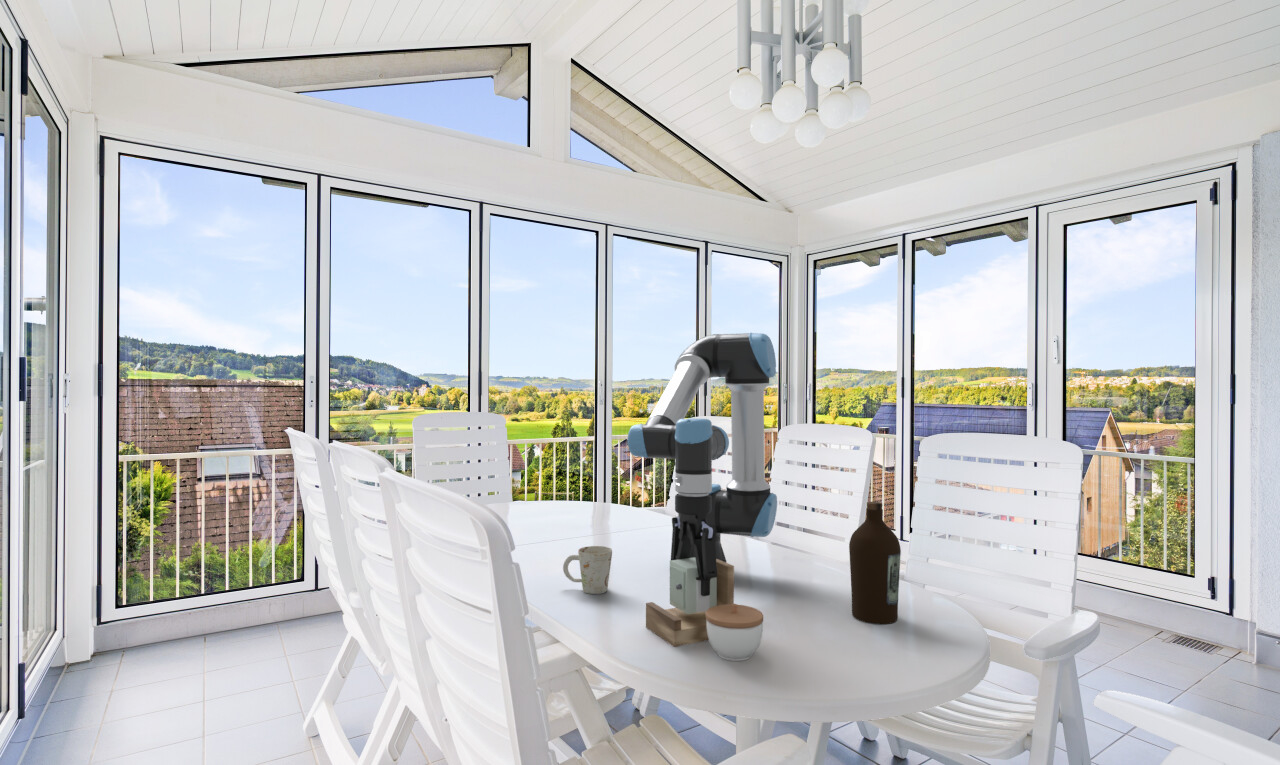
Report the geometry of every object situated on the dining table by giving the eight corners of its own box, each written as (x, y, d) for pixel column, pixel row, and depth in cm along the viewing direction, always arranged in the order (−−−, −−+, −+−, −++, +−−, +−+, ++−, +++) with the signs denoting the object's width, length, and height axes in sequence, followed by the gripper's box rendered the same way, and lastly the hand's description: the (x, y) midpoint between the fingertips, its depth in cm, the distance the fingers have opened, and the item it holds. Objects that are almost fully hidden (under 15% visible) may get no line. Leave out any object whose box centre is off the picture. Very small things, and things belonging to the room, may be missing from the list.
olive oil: (842, 619, 145) (842, 503, 145) (857, 606, 153) (857, 497, 154) (893, 629, 139) (893, 508, 139) (906, 615, 147) (906, 502, 148)
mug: (607, 596, 160) (607, 554, 160) (557, 593, 162) (557, 552, 162) (615, 586, 168) (615, 546, 168) (567, 583, 170) (567, 544, 170)
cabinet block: (698, 599, 142) (698, 557, 142) (716, 609, 136) (716, 564, 136) (664, 604, 138) (664, 561, 138) (681, 614, 132) (681, 569, 132)
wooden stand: (702, 617, 145) (702, 552, 146) (733, 635, 135) (733, 565, 135) (645, 627, 139) (646, 559, 139) (674, 646, 128) (674, 573, 129)
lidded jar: (700, 644, 130) (701, 596, 130) (755, 643, 131) (755, 595, 131) (711, 667, 119) (711, 614, 119) (770, 665, 120) (770, 613, 120)
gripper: (654, 488, 145) (653, 594, 145) (703, 501, 127) (702, 623, 127) (684, 486, 148) (683, 590, 148) (736, 499, 130) (735, 617, 130)
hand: (692, 605), depth 137 cm, fingers closed on cabinet block, 7 cm apart
